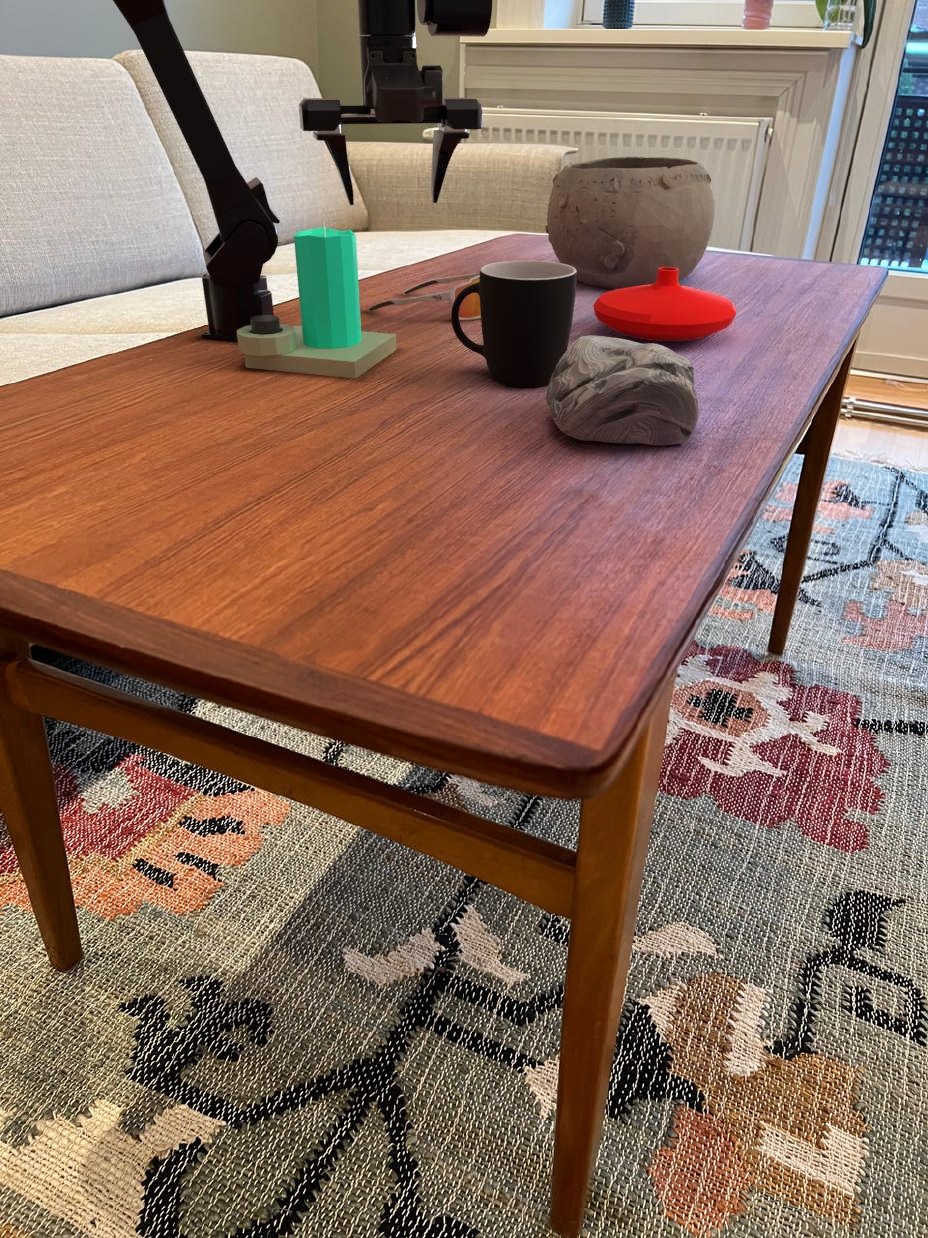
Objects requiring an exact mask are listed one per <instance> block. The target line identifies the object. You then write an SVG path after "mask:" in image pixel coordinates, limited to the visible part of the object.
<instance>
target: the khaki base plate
mask: <svg viewBox="0 0 928 1238" xmlns="http://www.w3.org/2000/svg"><path fill="white" fill-rule="evenodd" d="M361 337H362V340H361V341H360V342H359V344H356V345H353V346H350V347H344V348H335V349H327V348H315V347H311V346H307V345H306V344H305V343H304V342H303V335H302V325H289V324H285V323H280V333H275V334H268V335H259V334H252V329H251V325H249V326H245V327H242V328H240V329H238V330H237V339H238V341H237V345H238V352H239V353H241V354H243V356H244V364H245V368H247V369H256V370H266V371H277V372H287V373H296V374H297V373H298V374H306V375H317V376H327V377H337V378H347V379H357V378H359V377H361V375H363V374H364V373H366V372H367V371H369V370H370V369H371V368H373V367H375V366H376V365H378V363H380V362H381V361H383V360H385V358H388V356H390V355H392V354H393V353H395V351H397V350H398V349H397V347H398V346H397V334H396V333H389V332H388V333H385V332H377V331H376V332H374V331H363V330H361Z"/></svg>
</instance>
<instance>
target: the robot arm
mask: <svg viewBox="0 0 928 1238" xmlns="http://www.w3.org/2000/svg"><path fill="white" fill-rule="evenodd" d="M112 1H113V3H114V5H115V6H116V7H117V9H118V10H119V12H120V14H121V15H122V16H123V18H124V20H125V21H126V22H127V24H128V26H129V27H130V29H131V30H132V32H133V33H134V35H135V37H136V39H137V41H138V44H139V46H140V48H141V50H142V52H143V54H144V57H145V58H146V60H147V63H148V64H149V67H150V69H151V71H152V73H153V75H154V77H155V80H156V81H157V83H158V85H159V87H160V90H161V92H162V94H163V95H164V96H163V97H164V98H165V100H166V102H167V104H168V107H169V109H170V111H171V113H172V115H173V117H174V119H175V122H176V124H177V125H178V128H179V130H180V132H181V134H182V137H183V138H184V141H185V143H186V145H187V147H188V149H189V151H190V152H191V155H192V157H193V159H194V162H195V163H196V166H197V168H198V170H199V172H200V175H201V176H202V178H203V181H204V185H205V189H206V193H207V195H208V199H209V202H210V205H211V209H212V212H213V215H214V219H215V222H216V226H217V228H218V229H217V230H218V233H217V234H216V236H215V237H214V238H212V240H211V242H210V243H209V244H208V245H207V246H206V247H205V248H204V250H203V251H202V255H203V261H204V265H205V269H206V271H207V273H208V275H206V276H203V277H201V283H202V290H203V291H202V292H203V299H204V304H205V312H206V318H207V319H206V320H207V326H208V329H207V330H205V331H203V332H201V333H200V334H201V338H202V339H209V340H221V341H230V342H238V339H237V330H238V329H240V328H242V327H245V326H249V325H251V320H250V319H251V318H252V317H254V316H259V315H274V316H275V314H274V304H273V293H272V291H271V290H269V289H268V279H267V275H264V274H263V275H262V272H263V269H264V268H263V267H264V264H266V263H268V262H269V261H270V260H271V259H272V258H273V257H274V255H275V254H276V251H277V248H278V244H279V235H278V231H277V228H276V226H275V224H277V225H278V224H280V222H281V221H280V219H279V218H278V216H277V215H276V214H275V212H274V211H273V210H272V209H271V207H270V204H269V201H268V197H267V194H266V190H265V187H264V184H263V182H262V181H261V180H260V179H259V177H257V176H255V177H254V178H252V179H250V181H248V182H247V181H246V179H245V177H243V175H242V173H241V172H240V170H239V169H238V167H237V166H236V164H235V161H234V159H233V157H232V154H231V151H229V147H228V146H227V144H226V141H225V139H224V137H223V135H222V132H221V130H220V128H219V126H218V124H217V121H216V119H215V117H214V115H213V112H212V110H211V108H210V106H209V104H208V101H207V99H206V97H205V94H204V93H203V90H202V88H201V85H200V84H199V81H198V79H197V77H196V74H195V72H194V70H193V68H192V66H191V64H190V61H189V59H188V57H187V55H186V53H185V51H184V48H183V46H182V44H181V42H180V39H179V36H178V35H177V33H176V31H175V28H174V26H173V24H172V22H171V20H170V17H169V13H168V9H167V6H166V3H165V0H112ZM416 10H417V11H416ZM416 12H417V18H418V21H419V24H420V25H422V26H426V28H427V30H428V31H427V32H428V33H429V35H430V36H431V37H476V38H477V37H479V38H481V37H482V38H483V37H486V36H487V34H488V32H489V29H490V26H491V21H492V15H493V0H357V14H358V15H357V16H358V35H359V37H358V38H359V55H360V57H359V59H360V75H361V76H360V77H361V78H360V80H361V99H362V104H341V101H340V99H339V98H335V97H331V98H330V97H323V98H322V97H320V98H319V97H318V98H317V97H316V98H315V97H314V98H313V97H312V98H310V97H307V98H306V97H305V98H304V97H303V99H301V101H300V102H299V104H298V115H299V127H300V129H301V130H302V131H303V132H312V137H313V138H314V139H315V140H316V141H318V142H319V141H321V142H322V141H323V142H324V144H325V146H326V149H327V150H328V152H329V154H330V157H331V159H332V161H333V162H334V165H335V167H336V171H337V173H338V176H339V180H340V182H341V185H342V188H343V190H344V193H345V196H346V199H347V201H348V204H349V206H354V205H355V203H354V201H355V200H354V199H355V198H354V197H355V196H354V187H353V186H354V185H353V180H352V175H351V168H350V162H349V156H348V149H347V140H346V134H344V133H343V132H342V131H341V129H342V128H343V125H399V124H400V125H401V124H402V125H403V124H405V125H406V124H407V125H408V124H409V125H410V124H414V125H415V124H437V126H438V128H437V129H434V130H433V133H432V152H431V153H432V154H431V156H432V157H431V175H430V176H431V177H430V193H431V203H433V204H437V203H438V200H439V199H440V198H439V197H440V193H441V191H442V187H443V183H444V181H445V177H446V174H447V171H448V167H449V164H450V162H451V159H452V156H453V154H454V152H455V151H456V149H457V146H458V145H459V143H460V142H461V140H466V139H470V135H471V134H470V132H468V131H467V130H483V108H482V104H481V103H480V102H479V100H478V99H477V98H472V97H444V71H443V68H442V66H441V64H440V65H437V64H436V65H432V64H431V65H430V64H429V65H425V64H423V65H422V66H421V70H420V69H419V66H418V65H419V64H418V56H417V36H416V35H417V25H416V24H417V22H416ZM372 110H373V112H372Z"/></svg>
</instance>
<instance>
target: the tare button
mask: <svg viewBox="0 0 928 1238" xmlns="http://www.w3.org/2000/svg"><path fill="white" fill-rule="evenodd" d="M250 320H251V329H252V334H259V335H268V334H275V333H280V324H281V323H280V317H279V316H277V315H275V314H274V315H259V316H254V317H252V318H251V319H250Z"/></svg>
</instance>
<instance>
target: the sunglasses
mask: <svg viewBox="0 0 928 1238" xmlns="http://www.w3.org/2000/svg"><path fill="white" fill-rule="evenodd" d="M479 279H480V271H479V272H473V273H466V274H458V275H453V276H446V277H445V276H444V277H435V278H433V279H430V280H426V281H422V282H420V283H418V284H416V285H413V286H412V287H409V288H408V289H405V290H403V291H402V292H401V293H400V294H401V295H403V296H404V297H405V296H408V295H410V294H411V295H412V294H413V293H415V292H418V291H420V290H423V289H426V288H428V287H431V286H435V285H436V286H437V285H443V284H446V285H447V284H450V283H453V282H458V281H465V282H463V283H461V284H457V285H455V286H452V287H451V288H450V289H449V290H445V291H440V292H435V293H430V294H425V295H419V296H414V297H407V298H390V299H387V300H386V299H385V300H383V301H379V302H377V303H375V304H373V305H371V306H369V307H367V311H368V312H370V313H373V312H376V311H378V310H381V309H383V308H387V307H393V306H394V307H395V306H401V307H403V306H407V305H410V304H414V303H422V302H428V303H435V304H436V303H439V302H442V301H448V302H449V314H450V316H451V311H452V306H453V303H454V301H455V299H456V297H457V296H458V295H459V293H460V292H461V291H462V290H463V289H465V288H466V287H468V286H470V285H472V284H475V283H478V282H479ZM466 280H467V281H466ZM478 319H481V312H480V297H479V295H478V293H472V294H469V295H468V296H467V297H466V298H465V299H464V300H463V302H462V303H461V306H460V309H459V321H473V320H478Z"/></svg>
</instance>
